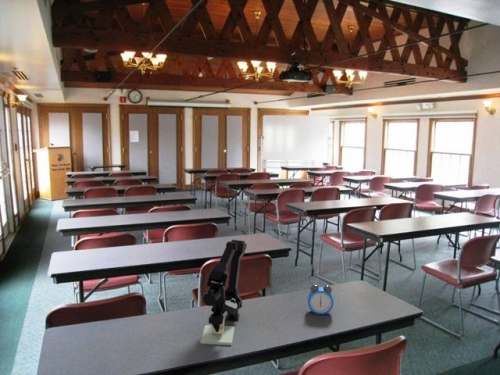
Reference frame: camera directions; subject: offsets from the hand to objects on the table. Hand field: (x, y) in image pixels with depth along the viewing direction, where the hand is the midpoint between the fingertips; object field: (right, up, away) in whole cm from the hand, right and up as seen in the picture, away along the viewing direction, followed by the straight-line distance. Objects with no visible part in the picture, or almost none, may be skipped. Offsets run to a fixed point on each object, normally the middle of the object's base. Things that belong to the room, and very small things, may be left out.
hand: (218, 328), depth 175 cm
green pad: (0, -3, +1) cm, 4 cm away
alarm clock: (+51, -1, +26) cm, 57 cm away
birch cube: (0, -1, 0) cm, 1 cm away
